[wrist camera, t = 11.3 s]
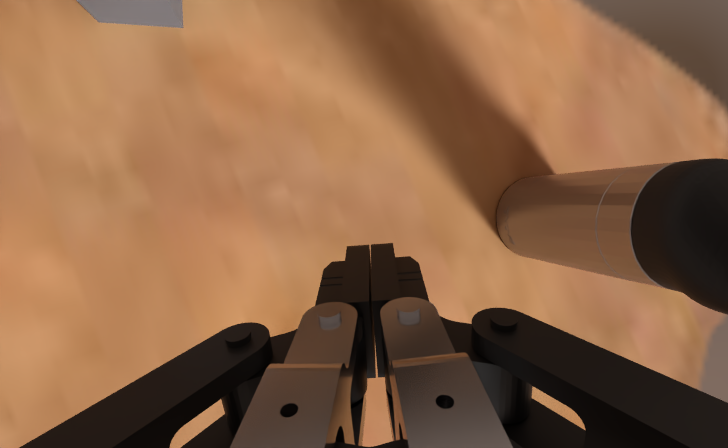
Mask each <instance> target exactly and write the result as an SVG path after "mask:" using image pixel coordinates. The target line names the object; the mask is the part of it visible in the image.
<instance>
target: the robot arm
mask: <svg viewBox="0 0 728 448" xmlns="http://www.w3.org/2000/svg"><path fill="white" fill-rule="evenodd" d="M496 220H497V228H498V232H499V235H500V237H501V239H502V241H503V242H504V244H505V245H506V246H507V247H508V248H509V249H510V250H511V251H513V252H514V253H516V254H518V255H520V256H524V257H528V258H532V259H537V260H541V261H545V262H549V263H554V264H558V265H562V266H567V267H571V268H576V269H580V270H585V271H589V272H594V273H598V274H603V275H607V276H611V277H616V278H620V279H625V280H629V281H635V282H639V283H643V284H648V285H652V286H657V287H661V288H666V289H671V290H675V291H679V292H683V293H684V294H686V295H687V296H688V297H690V298H691V299H692V300H694V301H696V302H697V303H699V304H701V305H703V306H705V307H707V308H710V309H712V310H715V311H718V312H721V313H725V314H728V160H727V159H699V160H690V161H681V162H673V163H663V164H653V165H644V166H636V167H626V168H616V169H605V170H595V171H585V172H575V173H565V174H554V175H544V176H534V177H528V178H523V179H521V180H519V181H516V182H515V183H514V184H512V185H511V186H510V187H509V188H508V189H507V190H506V191H505V193H504V194H503V196H502V198H501V200H500V202H499V205H498V208H497V216H496ZM375 345H376V357H377V369H378V377H385V383H386V396H387V406H388V412H389V419H390V425H391V432H392V438H393V441H392V442H389V443H385V444H382V445H378V446H374V447H363V446H362V441H363V431H364V421H365V411H366V394H365V393H366V390H367V378H376V371H375ZM532 386H534V387H535V388H537V389H539V390H541V391H542V392H544V393H546V394H547V395H549V396H551V397H553V398H554V399H556V400H558V401H559V402H561V403H563V404H565V405H566V406H568V407H570V408H571V409H572V410H573V411H575V412H576V413H577V414H578V416H579V417H580V418H581V420H582V421H583V423H584V425H585V429H586V431H585V430H583V429H582V428H580V427H579V426H577V425H575V424H574V423H572V422H570V421H569V420H567V419H565V418H564V417H562V416H560V415H559V414H557V413H555V412H554V411H552V410H551V409H549V408H547V407H546V406H544V405H542V404H541V403H539V402H537V401H536V400H534V399H532V398H531V396H532ZM220 399H221V400H222V404H223V407H224V411H225V414H224V415H223V416H222V417H221V418H219V419H218V420H217V421H215V422H214V423H213V424H211V425H210V426H209V427H207V428H206V429H205V430H203V431H202V432H201V433H199V434H198V435H197V436H195V437H194V438H193V439H191V440H190V441H189V442H187V443H186V444H185V445H183V446H182V447H181V448H728V403H727V402H724V401H722V400H720V399H717V398H715V397H713V396H711V395H708V394H706V393H704V392H702V391H699V390H697V389H695V388H692V387H690V386H688V385H686V384H683V383H681V382H679V381H676V380H674V379H672V378H670V377H667V376H665V375H663V374H660V373H658V372H656V371H654V370H651V369H649V368H647V367H644V366H642V365H640V364H638V363H635V362H633V361H631V360H628V359H626V358H624V357H622V356H619V355H617V354H615V353H612V352H610V351H608V350H606V349H603V348H601V347H599V346H596V345H594V344H592V343H590V342H587V341H585V340H583V339H580V338H578V337H576V336H574V335H571V334H569V333H567V332H564V331H562V330H560V329H558V328H555V327H553V326H551V325H548V324H546V323H544V322H542V321H539V320H537V319H535V318H532V317H530V316H528V315H526V314H523V313H521V312H518V311H516V310H512V309H507V308H489V309H485V310H482V311H480V312H478V313H477V314H475V315H474V317H473V319H472V324H468V323H460V322H455V321H451V320H448V319H445V318H443V317H441V316H439V314H438V312H437V309H436V308H435V306H434V305H433V304H432V303H430V302H429V299H428V295H427V292H426V288H425V284H424V281H423V277H422V274H421V270H420V266H419V263H418V262H417V261H415V260H414V259H413V258H411V257H410V256H409V257H395V254H394V248H393V243H387V244H372V245H371V260H370V249H369V245H359V246H347V250H346V258H345V261H337V262H331V263H330V264H329V265H328V266H327V267H326V268H325V269H324V270H323V275H322V280H321V283H320V287H319V292H318V296H317V300H316V304H315V306H314V307H312V308H311V309H309V310H308V311H307V312H306V313H305V314H304V315H303V317H302V319H301V322H300V324H299V326H298V329H296V330H294V331H291V332H288V333H285V334H281V335H277V336H273V337H270V334H269V330H268V329H267V328H266V327H265V326H264V325H262V324H259V323H241V324H237V325H234V326H231V327H228V328H226V329H224V330H222V331H220V332H219V333H217V334H215V335H214V336H212V337H210V338H208V339H207V340H205V341H203V342H201V343H200V344H198V345H196V346H194V347H193V348H191V349H189V350H188V351H186V352H184V353H182V354H181V355H179V356H177V357H175V358H174V359H172V360H170V361H169V362H167V363H165V364H163V365H162V366H160V367H158V368H156V369H155V370H153V371H151V372H149V373H148V374H146V375H144V376H143V377H141V378H139V379H137V380H136V381H134V382H132V383H130V384H129V385H127V386H125V387H124V388H122V389H120V390H118V391H117V392H115V393H113V394H111V395H110V396H108V397H106V398H105V399H103V400H101V401H99V402H98V403H96V404H94V405H92V406H91V407H89V408H87V409H85V410H84V411H82V412H80V413H79V414H77V415H75V416H73V417H72V418H70V419H68V420H66V421H65V422H63V423H61V424H60V425H58V426H56V427H54V428H53V429H51V430H49V431H47V432H46V433H44V434H42V435H40V436H39V437H37V438H35V439H34V440H32V441H30V442H28V443H27V444H25V445H23V446H21V447H20V448H169V447H170V443H171V440H172V438H173V437H174V435H175V434H176V432H177V431H178V430H179V429H180V428H181V427H182V426H184V425H185V424H186V423H188V422H189V421H191V420H192V419H193V418H195V417H196V416H197V415H199V414H200V413H202V412H203V411H204V410H206V409H207V408H209V407H210V406H211V405H213V404H214V403H216V402H217V401H218V400H220Z"/></svg>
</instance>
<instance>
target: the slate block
mask: <svg viewBox="0 0 728 448" xmlns="http://www.w3.org/2000/svg"><path fill="white" fill-rule="evenodd" d="M77 1H78V2H79V3H80V4H81V5H82V6H83V7H84V8H85V9H86V10H87V11H88V12H89V13H90V14H91V15H92V16H93V17H94V18H95V19H96V20H97V21H98V22H102V23H117V24H132V25H147V26H162V27H177V28H183V12H182V0H77Z"/></svg>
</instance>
